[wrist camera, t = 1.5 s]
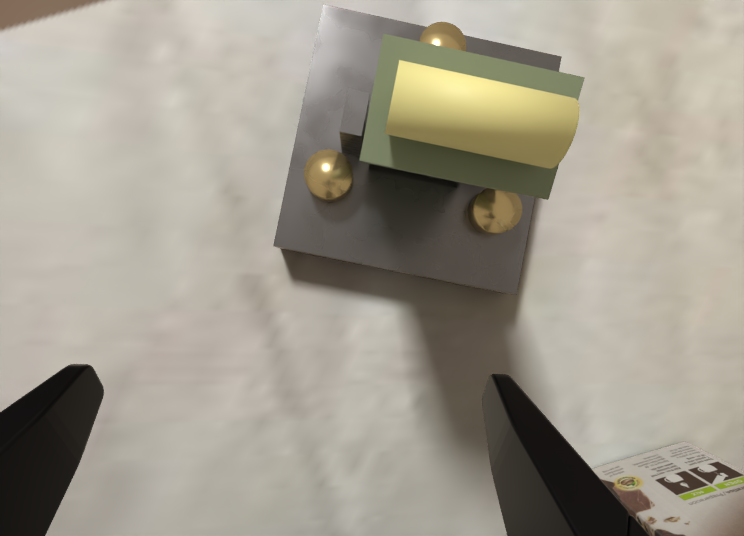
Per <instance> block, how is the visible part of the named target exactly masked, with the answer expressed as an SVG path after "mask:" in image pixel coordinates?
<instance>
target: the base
mask: <svg viewBox="0 0 744 536" xmlns="http://www.w3.org/2000/svg"><path fill="white" fill-rule="evenodd" d="M383 34H388V35H392V36H397V37H402V38H406V39H411V40H415V41H420V42H424V43H429V44H434V45H438V46H443V47H447V48H452V49H456V50H461V51H466V52H470V53H475V54H479V55H484V56H488V57H493V58H498V59H502V60H507V61H511V62H516V63H520V64H525V65H529V66H534V67H539V68H543V69H548V70H552V71H557V72H559V67H560V62H561V57H560V56H556V55H551V54H547V53H542V52H538V51H533V50H529V49H524V48H520V47H515V46H510V45H506V44H501V43H497V42H492V41H488V40H483V39H479V38H474V37H470V36H465V35H463V33H462V32H461V30H460V29H459V28H457V27H456V26H455V25H453V24H450V23H447V22H437V23H434V24H432V25H430V26H428V27H424V26H420V25H415V24H411V23H406V22H401V21H397V20H392V19H388V18H383V17H379V16H374V15H370V14H365V13H361V12H356V11H352V10H347V9H342V8H338V7H333V6H329V5H324V4H323V7H322V12H321V17H320V22H319V27H318V32H317V37H316V41H315V46H314V51H313V56H312V61H311V66H310V71H309V75H308V80H307V85H306V90H305V95H304V100H303V105H302V109H301V114H300V119H299V124H298V129H297V134H296V139H295V144H294V148H293V153H292V158H291V163H290V168H289V173H288V178H287V182H286V187H285V192H284V197H283V202H282V207H281V212H280V216H279V221H278V226H277V231H276V236H275V241H274V246H275V247H277V248H280V249H285V250H290V251H295V252H300V253H305V254H310V255H315V256H320V257H325V258H330V259H335V260H340V261H345V262H350V263H355V264H360V265H365V266H370V267H375V268H380V269H385V270H390V271H395V272H400V273H405V274H410V275H415V276H420V277H425V278H430V279H435V280H440V281H445V282H450V283H455V284H460V285H465V286H470V287H475V288H480V289H485V290H490V291H495V292H500V293H507V294H516V295H517V290H518V285H519V279H520V274H521V269H522V263H523V258H524V253H525V247H526V242H527V237H528V231H529V226H530V221H531V216H532V210H533V205H534V200H535V197H532V196H527V195H521V194H516V193H511V192H506V191H501V190H495V189H490V188H485V187H480V186H475V185H469V184H464V183H459V182H454V181H450V180H445V179H440V178H435V177H430V176H426V175H421V174H416V173H411V172H406V171H402V170H397V169H392V168H387V167H382V166H378V165H373V164H368V163H365V162H363V161H360V155H361V149H362V144H363V139H364V133H365V128H366V123H367V117H368V112H369V107H370V102H371V96H372V91H373V86H374V80H375V75H376V70H377V65H378V59H379V54H380V49H381V43H382V38H383Z"/></svg>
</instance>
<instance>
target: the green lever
mask: <svg viewBox="0 0 744 536" xmlns="http://www.w3.org/2000/svg"><path fill="white" fill-rule="evenodd" d="M583 81H584V77H580V76H575V75H571V74H566V73H561V72H557V71H552V70H548V69H543V68H539V67H534V66H529V65H525V64H520V63H516V62H511V61H507V60H502V59H498V58H493V57H488V56H484V55H479V54H475V53H470V52H466V51H461V50H456V49H452V48H447V47H443V46H438V45H434V44H429V43H424V42H420V41H415V40H411V39H406V38H402V37H397V36H392V35H388V34H383V38H382V43H381V49H380V54H379V59H378V65H377V70H376V75H375V80H374V86H373V91H372V96H371V102H370V107H369V112H368V117H367V123H366V128H365V133H364V139H363V144H362V149H361V155H360V161H363V162H365V163H368V164H373V165H378V166H382V167H387V168H392V169H397V170H402V171H406V172H411V173H416V174H421V175H426V176H430V177H435V178H440V179H445V180H450V181H454V182H459V183H464V184H469V185H475V186H480V187H485V188H490V189H495V190H501V191H506V192H511V193H516V194H521V195H527V196H532V197H537V198H542V199H547V200H548V199H549V195H550V192H551V189H552V185H553V182H554V179H555V175H556V172H557V169H558V165H559V163H560V162H561V160H562V159H563V158H564V156H565V155H566V153H567V151H568V149H569V147H570V145H571V143H572V141H573V138H574V135H575V132H576V129H577V125H578V119H579V104H578V98H579V95H580V91H581V88H582V85H583Z"/></svg>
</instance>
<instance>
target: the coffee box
mask: <svg viewBox="0 0 744 536" xmlns="http://www.w3.org/2000/svg"><path fill="white" fill-rule="evenodd" d="M592 470H593V471H594V472H595V474H596V475H597V476H598V477H599V478H600V479H601V480H602V481H603V483H604V484H605V485H606V486H607V487H608V488H609V489H610V491H611V492H612V493H613V494H614V495H615V496H616V497H617V499H618V500H619V501H620V502H621V503H622V504H623V505H624V507H625V508H626V509H627V510H628V511H629V515H632V516H633V517H634V518H635V519H636V520H637V521H638V522H639V523H640V525H641V526H642V527H643V528H644V529H645V530H646V531H647V533H648V534H649V535H650V536H744V471H742V470H740V469H738V468H736V467H734V466H732V465H730V464H729V463H727V462H725V461H723V460H721V459H719V458H717V457H715V456H713V455H711V454H709V453H707V452H705V451H703V450H701V449H699V448H698V447H696V446H694V445H692V444H690V443H688V442H681V443H677V444H674V445H671V446H667V447H664V448H660V449H657V450H653V451H650V452H647V453H643V454H640V455H636V456H633V457H630V458H626V459H623V460H619V461H616V462H612V463H609V464H606V465H602V466H599V467H596V468H593V469H592Z"/></svg>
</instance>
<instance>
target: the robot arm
mask: <svg viewBox="0 0 744 536" xmlns="http://www.w3.org/2000/svg"><path fill="white" fill-rule="evenodd" d="M103 394H104V389H103V385H102V383H101V382H100V380H99V378H98V376H97V374H96V372H95V370H94V368H93V367H92V366H90V365H88V364H71V365H68V366H66V367H65V368H63V369H62V370H60V371H59V372H58V373H56V374H55V375H53V376H52V377H50V378H49V379H47V380H46V381H45V382H43V383H42V384H40V385H39V386H37V387H36V388H35V389H33V390H32V391H30V392H29V393H27V394H26V395H24V396H23V397H22V398H20V399H19V400H17V401H16V402H14V403H13V404H12V405H10V406H9V407H7V408H6V409H4V410H3V411H2V412H0V536H45V535H46V533H47V531H48V528H49V526H50V524H51V522H52V520H53V518H54V516H55V514H56V512H57V510H58V507H59V505H60V503H61V501H62V499H63V497H64V495H65V493H66V491H67V489H68V486H69V484H70V482H71V480H72V478H73V476H74V474H75V472H76V469H77V467H78V465H79V463H80V460H81V458H82V455H83V452H84V450H85V447H86V444H87V441H88V438H89V436H90V433H91V430H92V427H93V424H94V421H95V419H96V416H97V413H98V410H99V407H100V405H101V402H102V399H103ZM482 406H483V413H484V421H485V428H486V435H487V443H488V450H489V458H490V464H491V470H492V475H493V479H494V484H495V488H496V492H497V496H498V500H499V504H500V508H501V512H502V516H503V520H504V524H505V528H506V532H507V536H650V535H649V534H648V533H647V531H646V530H645V529H644V528H643V527H642V526H641V525H640V523H639V522H638V521H637V520H636V519H635V518H634V517H633V516H632V515H629V511H628V510H627V509H626V508H625V507H624V505H623V504H622V503H621V502H620V501H619V500H618V499H617V497H616V496H615V495H614V494H613V493H612V492H611V491H610V489H609V488H608V487H607V486H606V485H605V484H604V483H603V481H602V480H601V479H600V478H599V477H598V476H597V475H596V474H595V472H594V471H593V470H592V469H591V468H590V467H589V466H588V464H587V463H586V462H585V461H584V460H583V459H582V458H581V456H580V455H579V454H578V453H577V452H576V451H575V450H574V448H573V447H572V446H571V445H570V444H569V443H568V442H567V440H566V439H565V438H564V437H563V436H562V435H561V434H560V432H559V431H558V430H557V429H556V428H555V427H554V426H553V425H552V423H551V422H550V421H549V420H548V419H547V418H546V417H545V415H544V414H543V413H542V412H541V411H540V410H539V409H538V407H537V406H536V405H535V404H534V403H533V402H532V401H531V399H530V398H529V397H528V396H527V395H526V394H525V393H524V391H523V390H522V389H521V388H520V387H519V386H518V385H517V384H516V382H515V381H514V380H513V379H512V378H511V377H510V376H509V375H506V374H492V375H490V376H489V378H488V381H487V384H486V387H485V390H484V393H483V398H482Z"/></svg>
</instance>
